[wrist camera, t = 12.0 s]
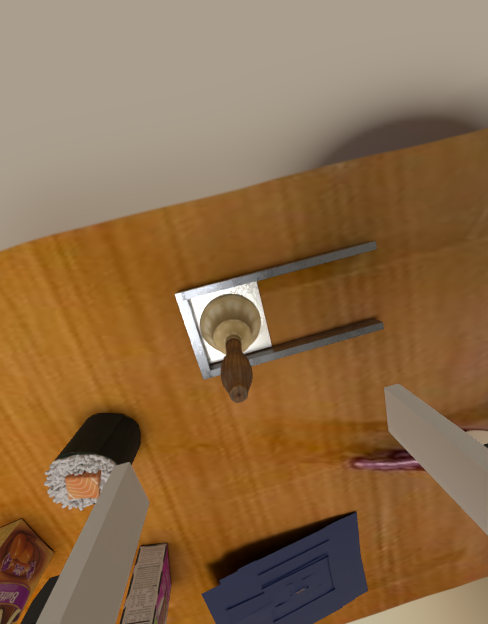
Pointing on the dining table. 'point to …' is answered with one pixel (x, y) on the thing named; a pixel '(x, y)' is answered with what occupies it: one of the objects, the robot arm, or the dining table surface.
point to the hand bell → (232, 339)
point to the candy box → (19, 568)
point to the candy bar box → (149, 587)
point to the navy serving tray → (294, 580)
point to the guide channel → (247, 287)
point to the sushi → (92, 459)
